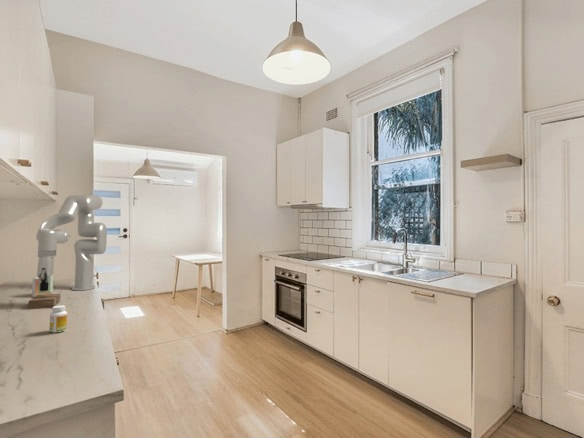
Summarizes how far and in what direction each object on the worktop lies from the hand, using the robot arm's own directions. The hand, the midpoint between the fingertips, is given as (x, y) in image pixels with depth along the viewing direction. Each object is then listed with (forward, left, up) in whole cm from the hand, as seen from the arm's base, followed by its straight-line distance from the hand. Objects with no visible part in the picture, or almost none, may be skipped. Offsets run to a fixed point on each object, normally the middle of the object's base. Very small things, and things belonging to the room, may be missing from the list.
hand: (45, 289), depth 162 cm
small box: (-25, -7, -8) cm, 27 cm away
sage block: (0, 0, -2) cm, 2 cm away
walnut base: (0, 0, -8) cm, 8 cm away
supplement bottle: (+49, +15, -8) cm, 52 cm away
